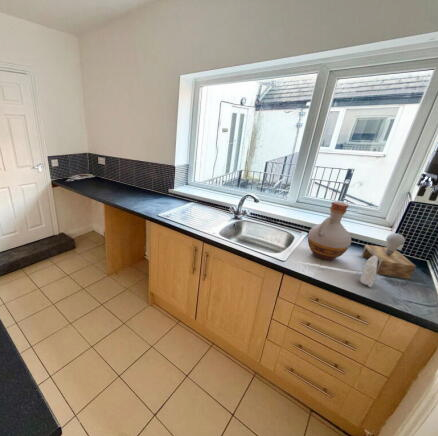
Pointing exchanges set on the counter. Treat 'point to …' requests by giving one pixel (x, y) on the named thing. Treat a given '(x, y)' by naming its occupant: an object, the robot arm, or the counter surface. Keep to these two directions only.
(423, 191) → the robot arm
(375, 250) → the wooden wedge block
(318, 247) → the jug
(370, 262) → the pale stone slab
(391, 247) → the lightbulb
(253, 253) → the counter surface
